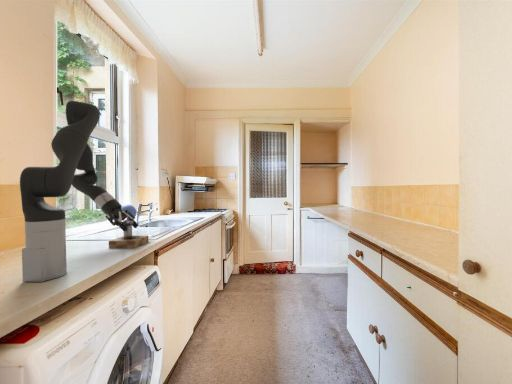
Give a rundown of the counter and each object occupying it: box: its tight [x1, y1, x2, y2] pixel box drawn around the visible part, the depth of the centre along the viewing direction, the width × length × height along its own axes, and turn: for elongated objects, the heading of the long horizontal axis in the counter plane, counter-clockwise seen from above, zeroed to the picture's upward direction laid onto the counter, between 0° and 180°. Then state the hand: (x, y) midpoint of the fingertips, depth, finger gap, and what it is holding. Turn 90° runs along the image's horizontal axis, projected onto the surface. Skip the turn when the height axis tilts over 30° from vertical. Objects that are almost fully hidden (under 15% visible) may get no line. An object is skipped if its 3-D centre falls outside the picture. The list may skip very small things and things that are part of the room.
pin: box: [122, 220, 133, 239], centre depth 112 cm, size 5×5×11 cm
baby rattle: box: [121, 204, 137, 220], centre depth 126 cm, size 9×9×18 cm
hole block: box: [108, 235, 150, 249], centre depth 112 cm, size 12×12×3 cm
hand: (131, 228), depth 112 cm, fingers open, 8 cm apart
